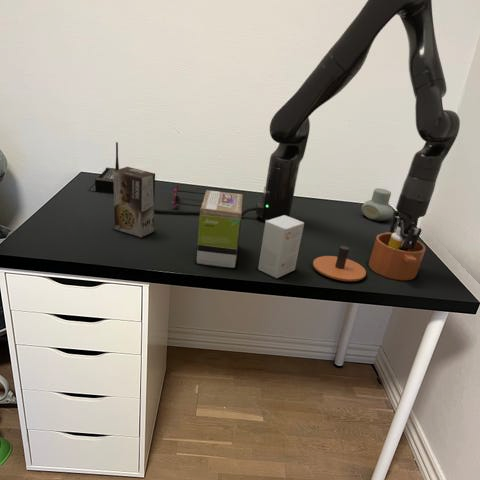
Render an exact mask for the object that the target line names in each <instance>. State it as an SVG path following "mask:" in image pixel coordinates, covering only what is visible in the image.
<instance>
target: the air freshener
mask: <svg viewBox="0 0 480 480" xmlns="http://www.w3.org/2000/svg"><path fill="white" fill-rule="evenodd" d="M391 197H392V191H390V190H388V189H385V188H380V187H377V188H374V190H373V193H372V195H371V199H370V200H367V201H365V202H364V203H362V205H361V212H362V214H363V215H364V216H365V217H366V218H367V219H368V220H371V221H375V222H381V221H382V222H383V221H387V220H389V219H391V218H392V217H393V215H394V209H393V207H392V206H391V204H390V199H391Z"/></svg>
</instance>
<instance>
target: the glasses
mask: <svg viewBox="0 0 480 480" xmlns="http://www.w3.org/2000/svg"><path fill="white" fill-rule="evenodd" d="M173 192H174V201H171V205H173V210H176V205H182V206H190V207H191V206H192V207H201V206H202V204H194V203H193V204H192V203H184V202H179V198H180V197H179V195H178V192H179V193H187V194H188V193H189V194H199V195H205V193H206V192H196V191H188V190H181V189H179V185H176V187H175V189H173Z"/></svg>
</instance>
